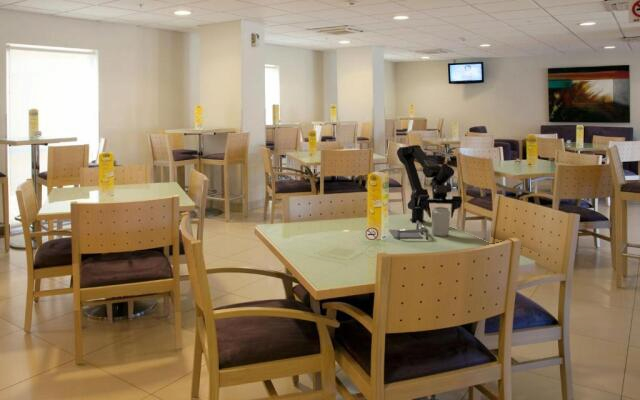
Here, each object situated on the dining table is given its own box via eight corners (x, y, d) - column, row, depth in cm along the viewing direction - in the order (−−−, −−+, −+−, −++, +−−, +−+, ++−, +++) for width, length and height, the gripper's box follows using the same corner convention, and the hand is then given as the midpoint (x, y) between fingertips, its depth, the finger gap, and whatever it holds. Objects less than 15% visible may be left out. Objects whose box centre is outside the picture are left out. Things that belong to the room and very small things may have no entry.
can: (447, 233, 245) (448, 206, 243) (449, 237, 238) (451, 209, 236) (430, 232, 246) (431, 206, 244) (432, 236, 239) (433, 209, 237)
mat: (389, 230, 249) (389, 229, 249) (415, 230, 249) (415, 229, 249) (394, 238, 235) (394, 237, 235) (422, 238, 236) (422, 237, 236)
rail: (389, 228, 253) (390, 219, 252) (418, 228, 254) (418, 219, 253) (397, 239, 233) (397, 230, 233) (428, 239, 234) (428, 230, 233)
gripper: (419, 177, 244) (421, 206, 235) (462, 177, 242) (466, 207, 233) (416, 192, 253) (418, 221, 244) (458, 192, 251) (461, 221, 242)
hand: (441, 217), depth 241 cm, fingers open, 9 cm apart
